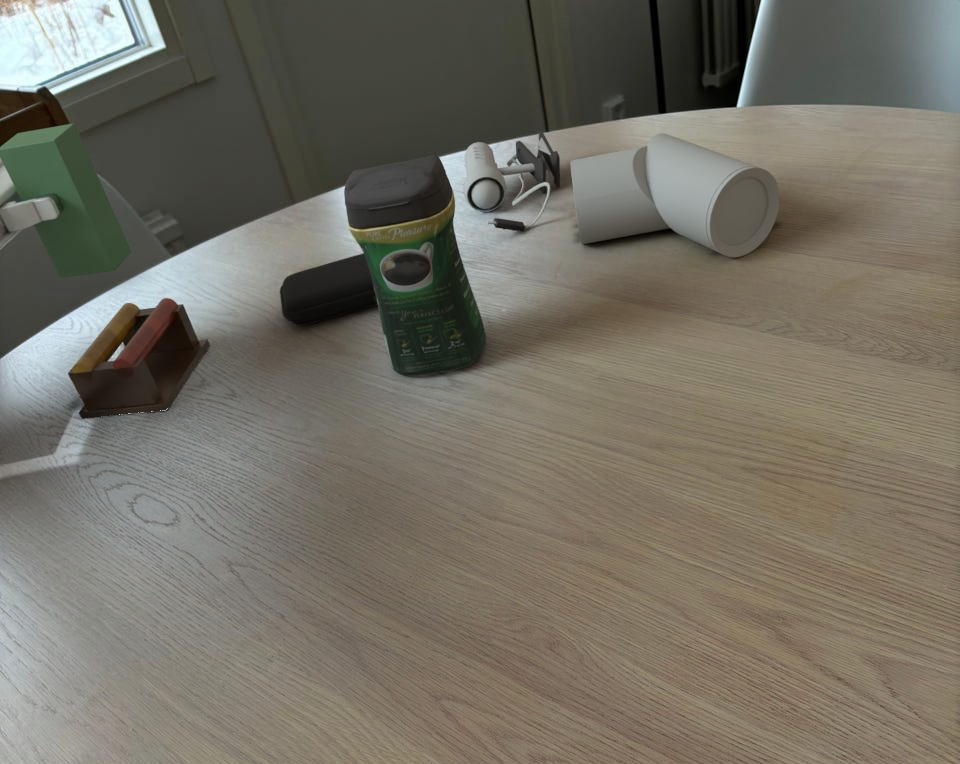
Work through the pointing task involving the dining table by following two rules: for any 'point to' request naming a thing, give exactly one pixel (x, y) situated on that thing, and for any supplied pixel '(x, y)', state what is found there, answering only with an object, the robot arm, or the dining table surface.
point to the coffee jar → (415, 265)
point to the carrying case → (327, 291)
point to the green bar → (67, 200)
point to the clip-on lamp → (489, 184)
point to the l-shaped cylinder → (675, 195)
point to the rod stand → (138, 361)
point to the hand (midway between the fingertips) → (71, 192)
